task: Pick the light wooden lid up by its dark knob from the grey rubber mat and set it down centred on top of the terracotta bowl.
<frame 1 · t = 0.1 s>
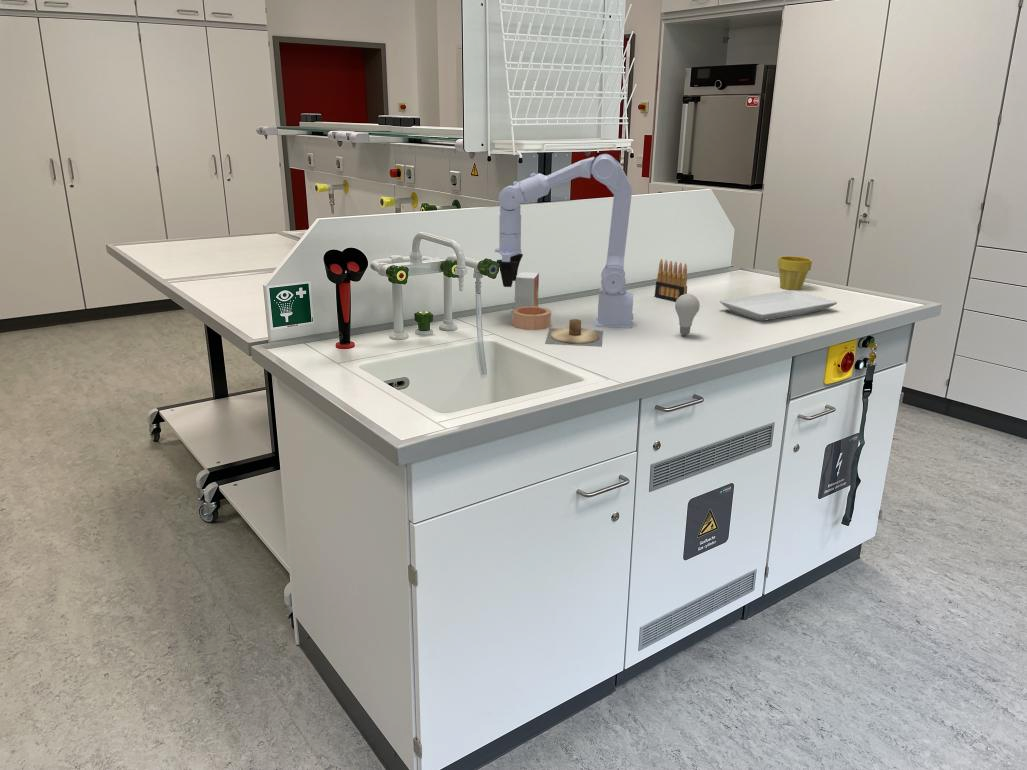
hand: (509, 283, 205), 10 cm above the table, tool pointing down, fingers open, 7 cm apart
small box: (526, 311, 218), on the table
mat: (574, 338, 193), on the table
lid: (574, 337, 193), resting on mat
bowl: (531, 325, 204), on the table
plant pot: (791, 288, 251), on the table
lightbulb: (684, 336, 196), on the table
ammunition clip: (670, 300, 233), on the table
tray: (777, 312, 222), on the table
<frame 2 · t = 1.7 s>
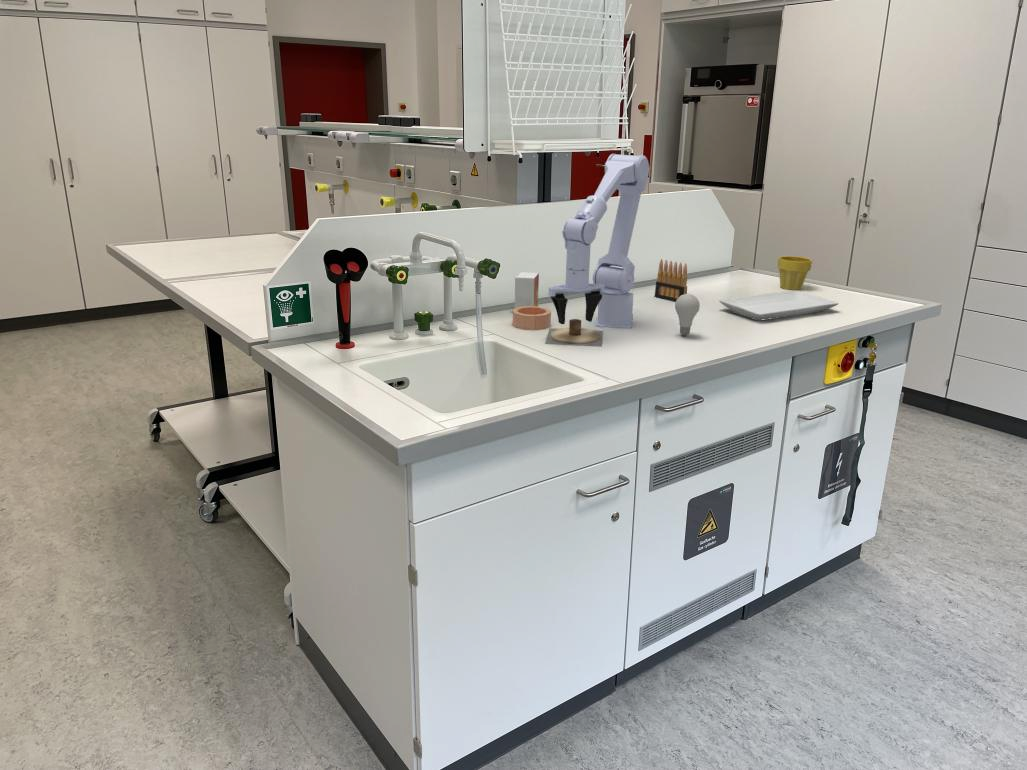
hand: (575, 322, 191), 4 cm above the table, tool pointing down, fingers open, 7 cm apart
nothing on the table moved.
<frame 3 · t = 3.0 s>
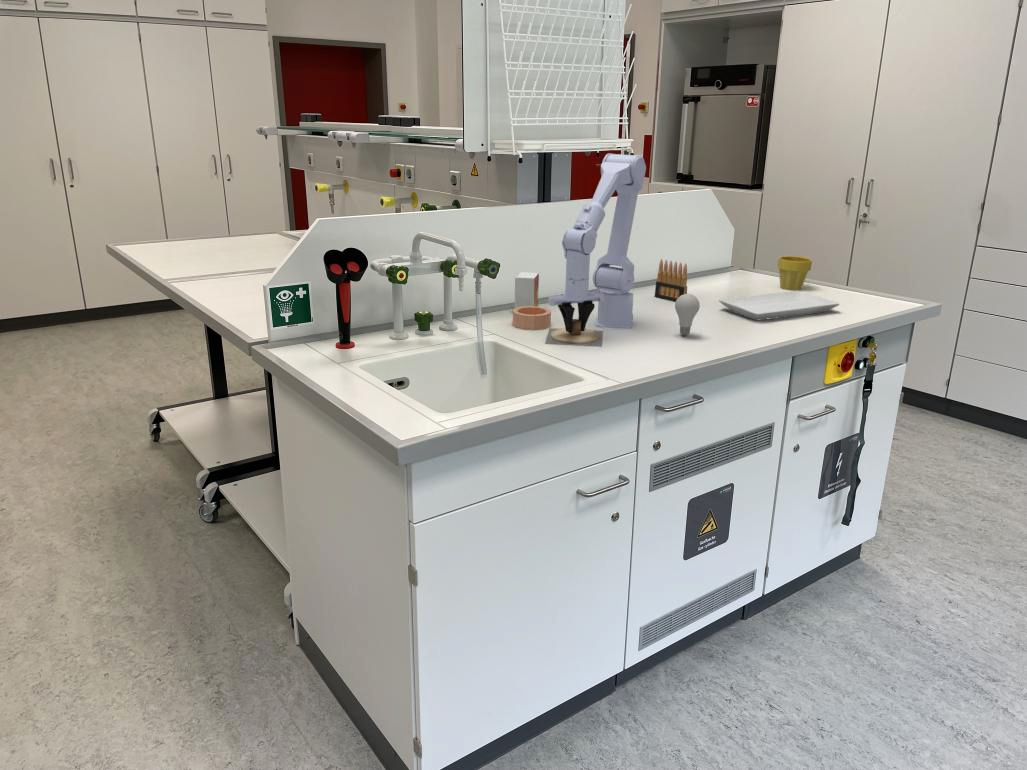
hand: (575, 330, 192), 2 cm above the table, tool pointing down, fingers closed on lid, 3 cm apart
lid: (574, 337, 193), resting on mat, touching gripper
everything else where it was.
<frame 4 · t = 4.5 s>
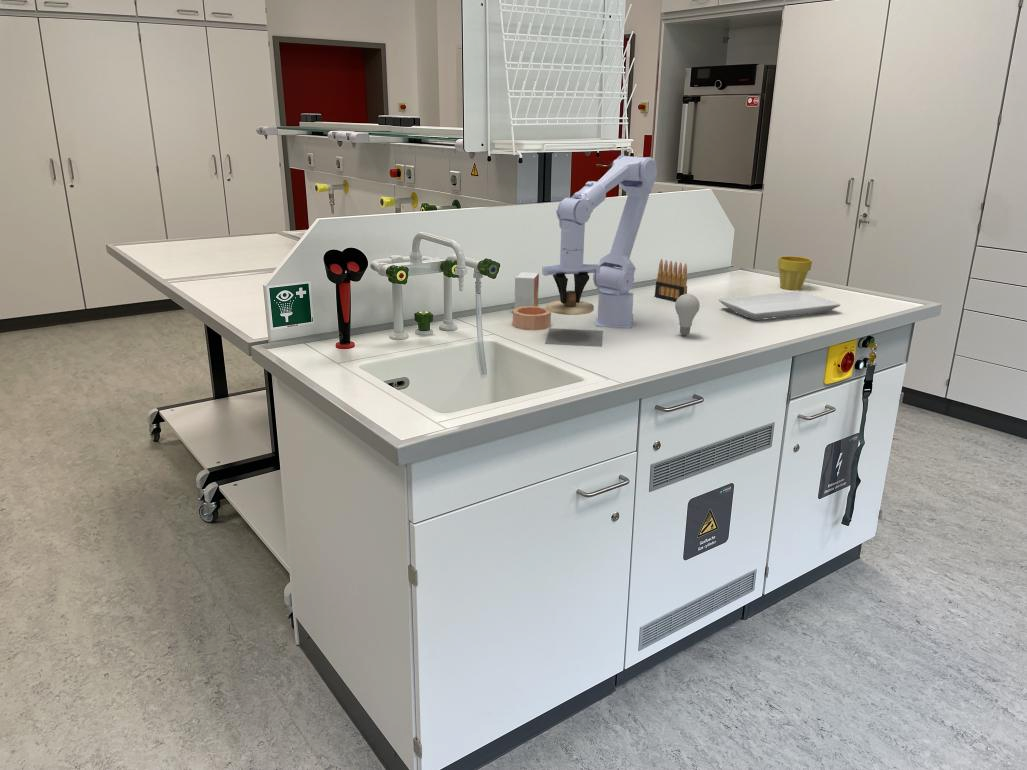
hand: (569, 302, 191), 9 cm above the table, tool pointing down, fingers closed on lid, 3 cm apart
lid: (569, 308, 192), point 7 cm above the table, touching gripper
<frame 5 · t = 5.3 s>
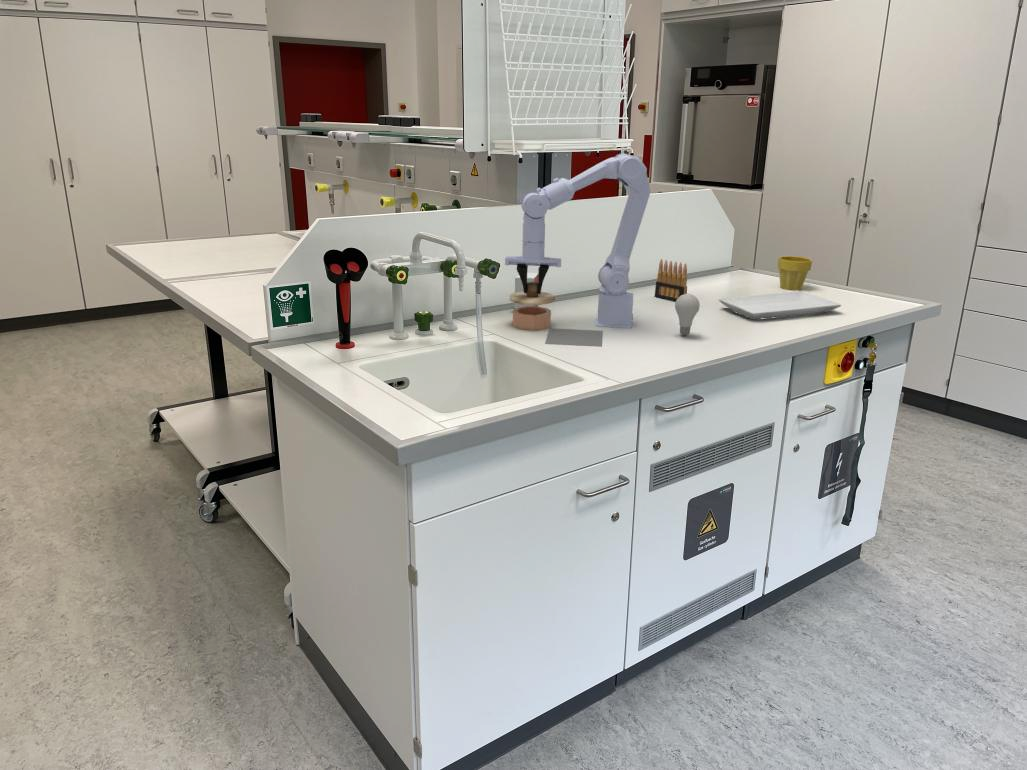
hand: (532, 292, 200), 9 cm above the table, tool pointing down, fingers closed on lid, 3 cm apart
lid: (532, 299, 201), point 7 cm above the table, touching gripper
when the fingers open (7 cm above the table, at t = 5.9 s): lid drops 1 cm, resting on bowl.
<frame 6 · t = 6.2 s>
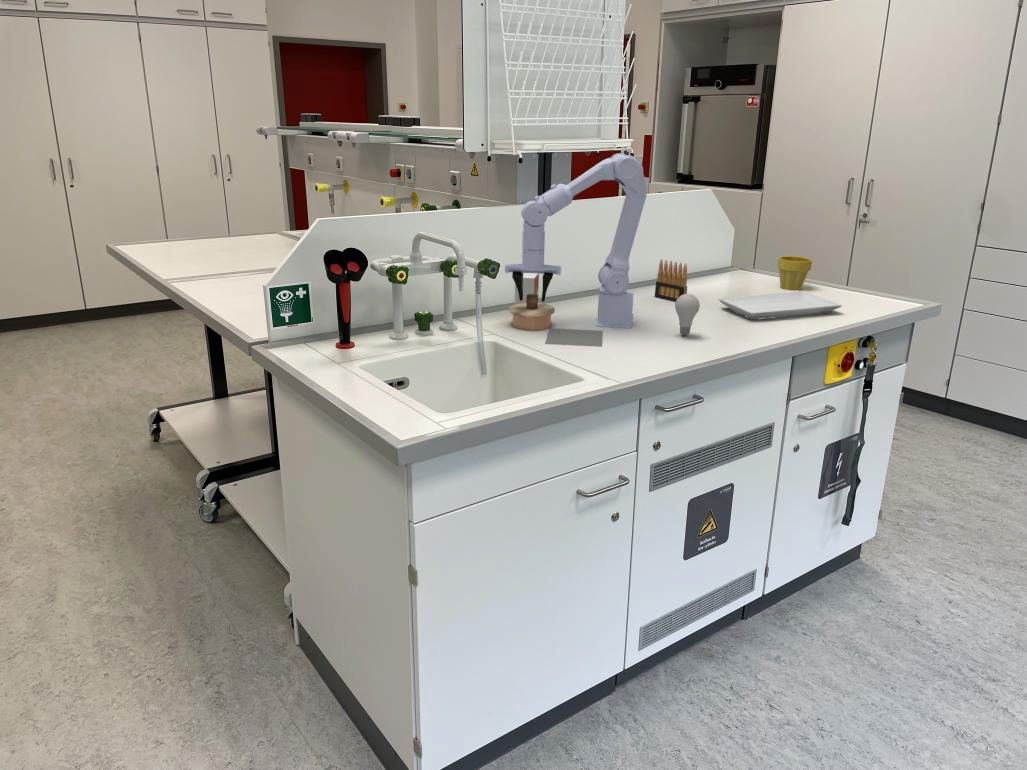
hand: (532, 300, 201), 7 cm above the table, tool pointing down, fingers open, 5 cm apart
lid: (531, 311, 202), point 4 cm above the table, touching bowl
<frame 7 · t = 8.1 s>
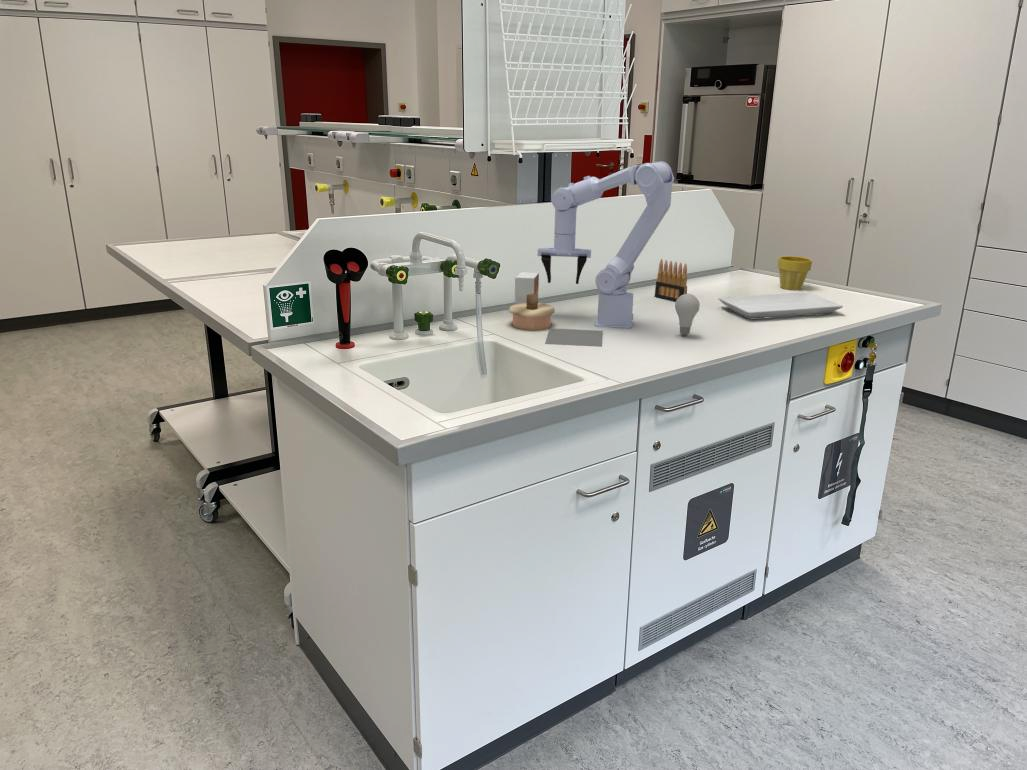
hand: (563, 282, 210), 10 cm above the table, tool pointing down, fingers open, 7 cm apart
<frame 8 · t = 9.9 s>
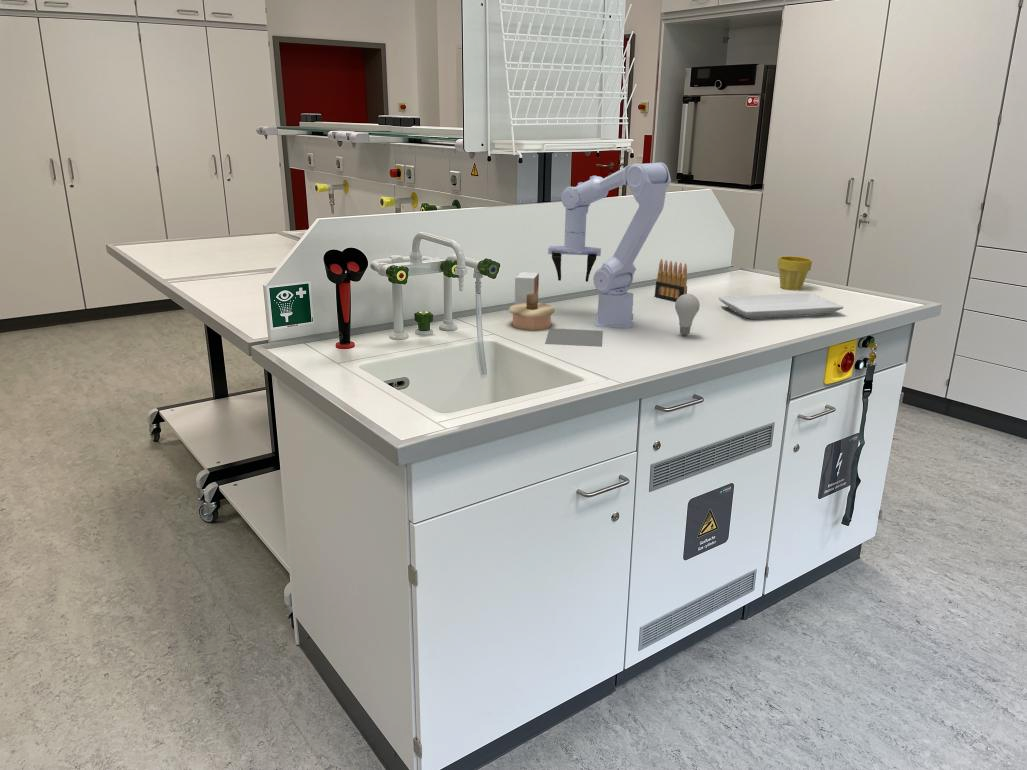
hand: (573, 280, 213), 9 cm above the table, tool pointing down, fingers open, 7 cm apart
at the end: lid 0.2 cm off-centre on the bowl, point 4.0 cm above the bowl's base; lid tilted 0°; the gripper is holding nothing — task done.
